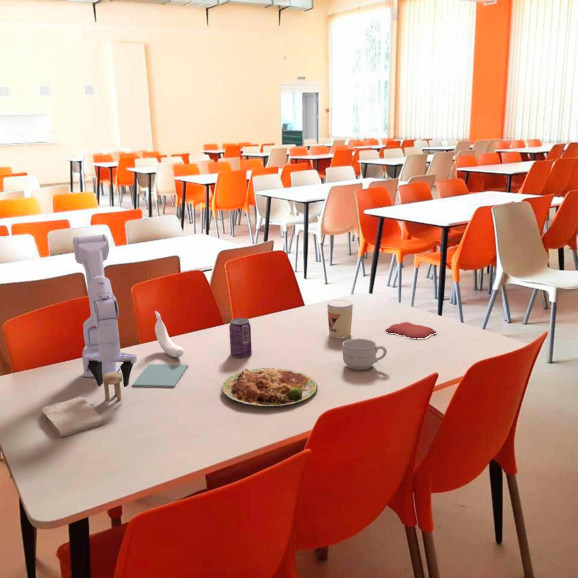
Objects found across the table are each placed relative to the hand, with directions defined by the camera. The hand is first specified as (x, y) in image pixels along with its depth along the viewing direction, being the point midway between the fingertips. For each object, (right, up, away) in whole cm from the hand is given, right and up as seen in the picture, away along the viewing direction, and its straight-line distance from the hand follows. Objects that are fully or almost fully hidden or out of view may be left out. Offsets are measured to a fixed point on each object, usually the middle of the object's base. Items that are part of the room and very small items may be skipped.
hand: (113, 385), depth 177 cm
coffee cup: (+69, +11, +49) cm, 85 cm away
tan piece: (0, -4, +1) cm, 4 cm away
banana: (+11, +5, +32) cm, 34 cm away
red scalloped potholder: (+95, +11, +50) cm, 108 cm away
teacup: (+74, +3, +19) cm, 77 cm away
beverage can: (+34, +5, +32) cm, 47 cm away
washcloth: (-8, -8, -10) cm, 16 cm away
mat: (+11, 0, +16) cm, 19 cm away
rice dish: (+45, -3, +5) cm, 45 cm away
